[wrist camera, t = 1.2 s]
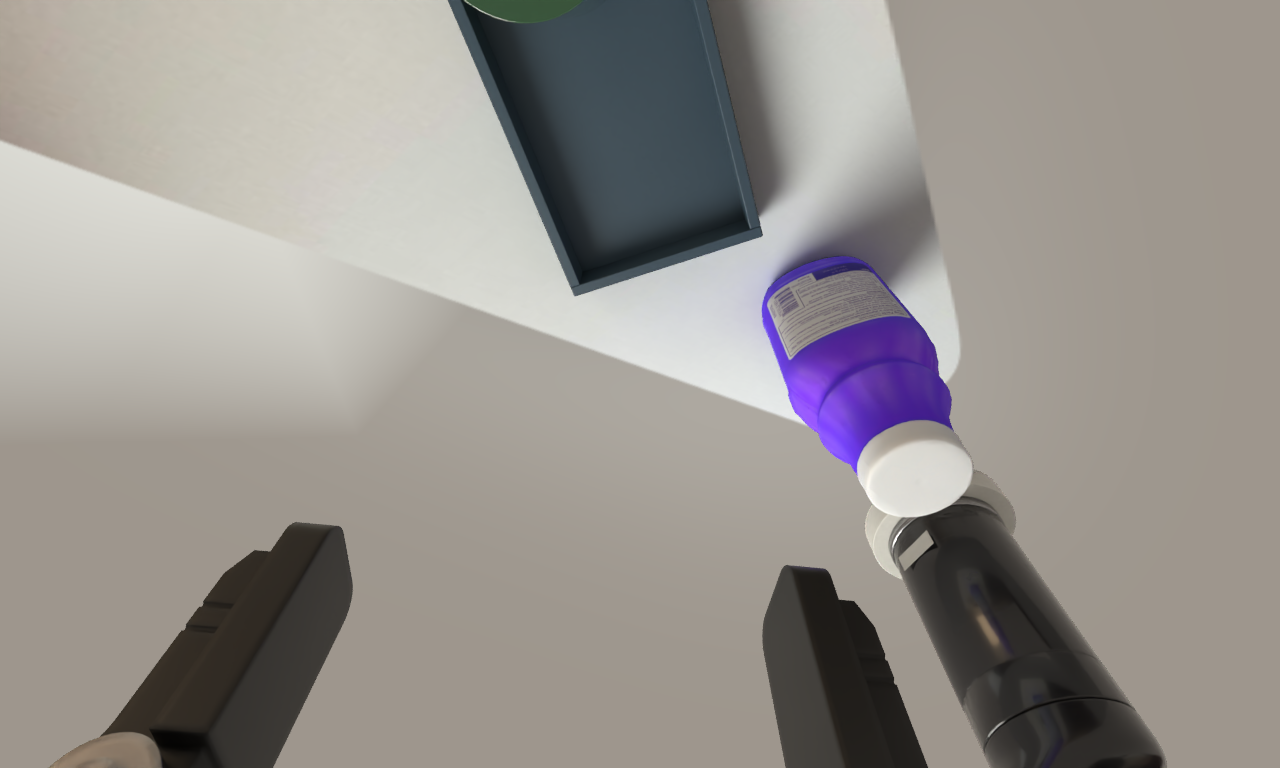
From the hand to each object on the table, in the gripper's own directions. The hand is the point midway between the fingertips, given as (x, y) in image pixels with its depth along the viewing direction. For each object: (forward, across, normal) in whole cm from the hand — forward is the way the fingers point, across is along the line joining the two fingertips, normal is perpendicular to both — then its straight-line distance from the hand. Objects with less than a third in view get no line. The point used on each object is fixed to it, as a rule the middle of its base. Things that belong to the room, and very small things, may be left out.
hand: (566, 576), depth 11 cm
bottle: (+28, +13, -5) cm, 31 cm away
